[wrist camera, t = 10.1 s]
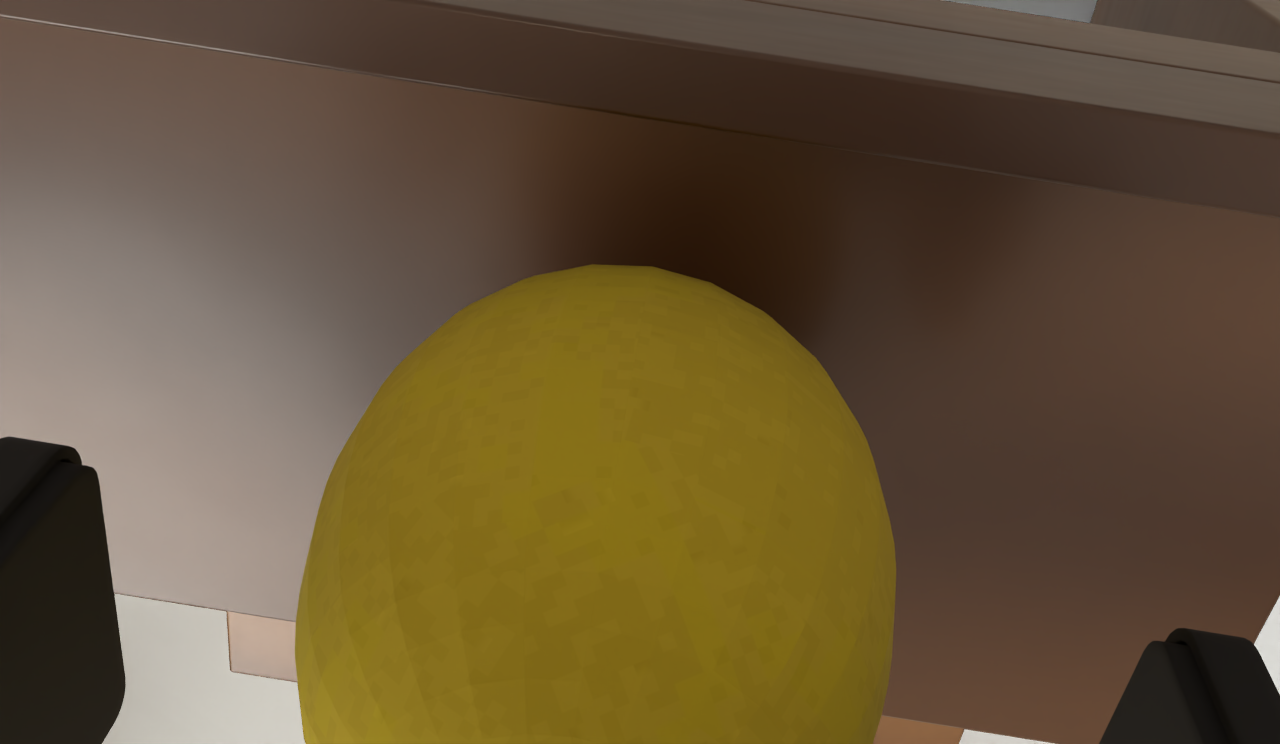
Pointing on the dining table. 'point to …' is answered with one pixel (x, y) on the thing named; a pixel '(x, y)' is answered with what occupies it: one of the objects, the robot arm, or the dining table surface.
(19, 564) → the robot arm
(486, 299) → the lemon
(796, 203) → the stand
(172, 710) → the dining table surface
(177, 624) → the dining table surface
